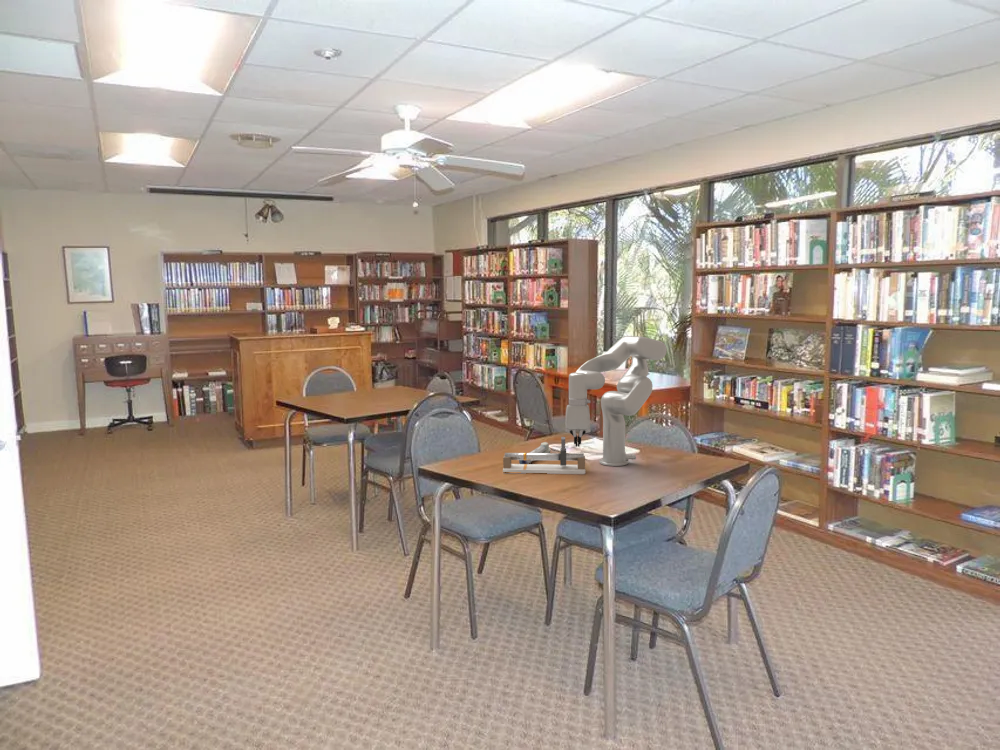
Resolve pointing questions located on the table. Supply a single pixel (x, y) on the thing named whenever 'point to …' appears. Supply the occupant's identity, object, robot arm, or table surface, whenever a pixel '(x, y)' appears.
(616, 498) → the table surface
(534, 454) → the pipe
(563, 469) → the pipe base
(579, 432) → the robot arm
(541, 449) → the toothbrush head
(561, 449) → the collar
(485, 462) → the table surface
